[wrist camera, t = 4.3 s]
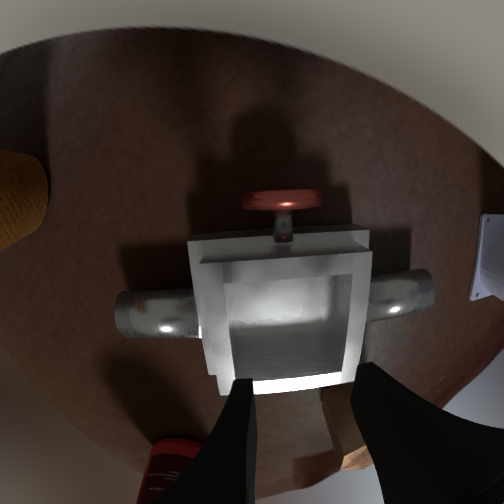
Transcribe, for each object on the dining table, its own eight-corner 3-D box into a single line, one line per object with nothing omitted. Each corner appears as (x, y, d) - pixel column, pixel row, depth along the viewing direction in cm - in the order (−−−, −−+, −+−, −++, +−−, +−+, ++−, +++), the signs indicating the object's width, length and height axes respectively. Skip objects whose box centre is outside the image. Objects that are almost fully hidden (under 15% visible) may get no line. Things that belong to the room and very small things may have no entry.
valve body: (418, 187, 15) (461, 193, 11) (402, 333, 18) (430, 365, 14) (115, 203, 15) (76, 213, 11) (148, 356, 18) (129, 395, 14)
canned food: (191, 474, 24) (181, 545, 13) (138, 444, 22) (115, 521, 11) (238, 460, 23) (237, 544, 12) (182, 428, 21) (163, 525, 10)
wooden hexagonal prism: (368, 370, 19) (402, 430, 13) (362, 405, 21) (386, 461, 14) (323, 381, 19) (346, 448, 13) (321, 415, 21) (338, 475, 14)
